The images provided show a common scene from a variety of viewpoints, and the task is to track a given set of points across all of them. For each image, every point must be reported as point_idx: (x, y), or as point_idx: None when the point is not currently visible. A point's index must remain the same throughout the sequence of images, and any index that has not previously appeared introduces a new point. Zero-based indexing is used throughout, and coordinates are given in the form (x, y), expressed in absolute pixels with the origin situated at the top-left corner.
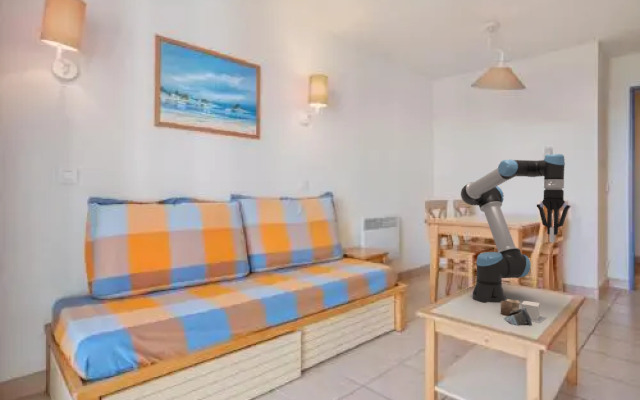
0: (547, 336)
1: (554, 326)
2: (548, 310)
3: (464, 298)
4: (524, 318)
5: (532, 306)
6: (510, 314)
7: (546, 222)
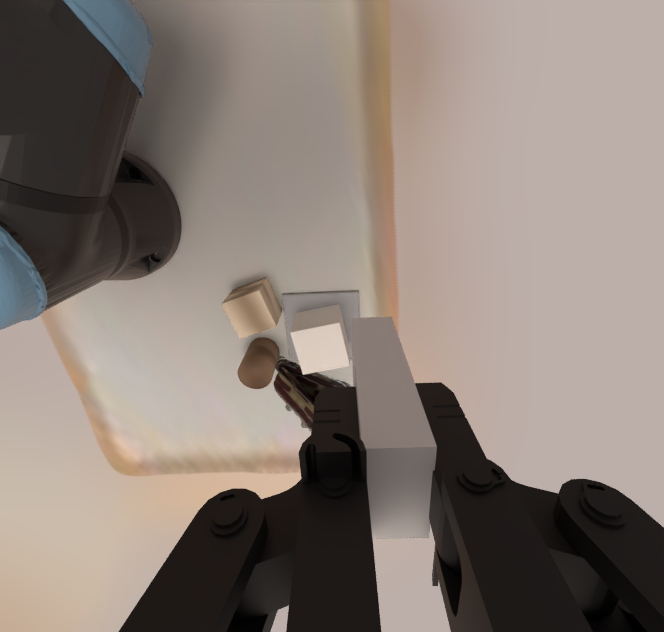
0: None
1: None
2: (330, 180)
3: None
4: None
5: (333, 367)
6: (280, 368)
7: (248, 578)
